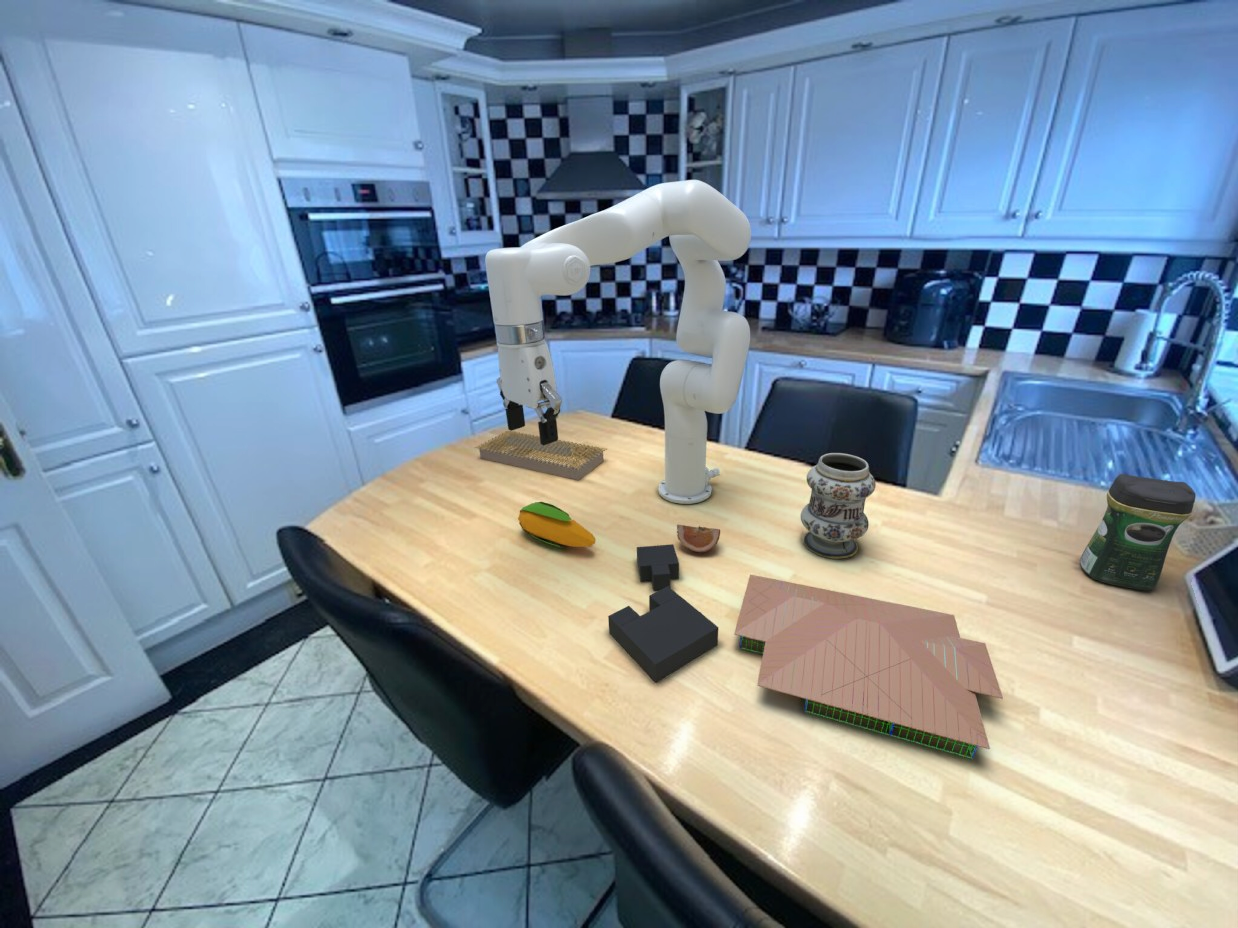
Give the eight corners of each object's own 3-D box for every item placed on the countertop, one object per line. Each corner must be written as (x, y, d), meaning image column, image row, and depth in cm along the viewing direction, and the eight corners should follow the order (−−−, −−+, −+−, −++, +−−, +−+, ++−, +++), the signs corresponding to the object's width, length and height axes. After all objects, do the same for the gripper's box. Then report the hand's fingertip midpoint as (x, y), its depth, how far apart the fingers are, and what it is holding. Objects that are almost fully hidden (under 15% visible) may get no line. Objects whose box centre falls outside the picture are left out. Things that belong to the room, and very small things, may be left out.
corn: (531, 489, 109) (605, 514, 98) (537, 518, 113) (609, 545, 102) (506, 506, 104) (582, 534, 93) (513, 536, 107) (586, 566, 97)
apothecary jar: (864, 534, 102) (880, 453, 94) (862, 568, 92) (880, 481, 84) (801, 523, 107) (811, 444, 99) (793, 554, 97) (804, 470, 89)
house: (1011, 775, 58) (1033, 726, 54) (721, 692, 69) (724, 648, 66) (970, 635, 77) (984, 593, 73) (748, 589, 88) (752, 550, 85)
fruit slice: (673, 553, 99) (673, 532, 97) (680, 535, 105) (680, 514, 102) (716, 560, 96) (717, 538, 94) (721, 540, 102) (722, 519, 100)
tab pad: (673, 559, 97) (673, 544, 96) (681, 588, 89) (681, 572, 88) (637, 562, 97) (636, 546, 95) (642, 591, 89) (641, 575, 87)
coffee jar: (1143, 570, 89) (1190, 475, 81) (1159, 597, 82) (1212, 497, 74) (1073, 556, 93) (1110, 465, 85) (1083, 580, 87) (1125, 485, 79)
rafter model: (476, 458, 144) (472, 439, 141) (509, 440, 155) (506, 422, 152) (579, 482, 128) (577, 460, 125) (608, 460, 139) (606, 439, 137)
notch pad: (667, 602, 86) (667, 585, 85) (717, 644, 77) (718, 627, 76) (609, 632, 80) (607, 615, 79) (655, 682, 71) (655, 664, 70)
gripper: (573, 336, 75) (581, 441, 83) (510, 324, 87) (523, 418, 94) (531, 345, 71) (544, 456, 78) (471, 331, 82) (487, 429, 90)
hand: (532, 435), depth 86 cm, fingers open, 9 cm apart
